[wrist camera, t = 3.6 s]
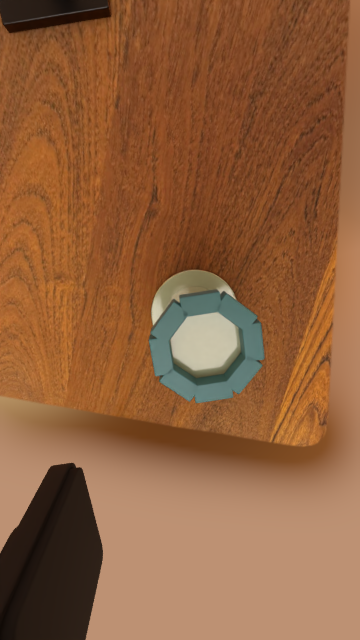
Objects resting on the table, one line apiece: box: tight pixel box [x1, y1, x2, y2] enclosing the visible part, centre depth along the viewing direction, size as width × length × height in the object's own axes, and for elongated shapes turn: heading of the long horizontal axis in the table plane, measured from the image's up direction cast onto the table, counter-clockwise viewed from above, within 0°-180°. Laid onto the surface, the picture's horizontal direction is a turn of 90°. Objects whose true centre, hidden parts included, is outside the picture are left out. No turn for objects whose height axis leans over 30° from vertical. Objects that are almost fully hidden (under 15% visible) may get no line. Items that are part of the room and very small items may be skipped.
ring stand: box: [151, 269, 241, 378], centre depth 25 cm, size 8×8×10 cm
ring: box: [149, 289, 264, 403], centre depth 20 cm, size 7×7×1 cm
